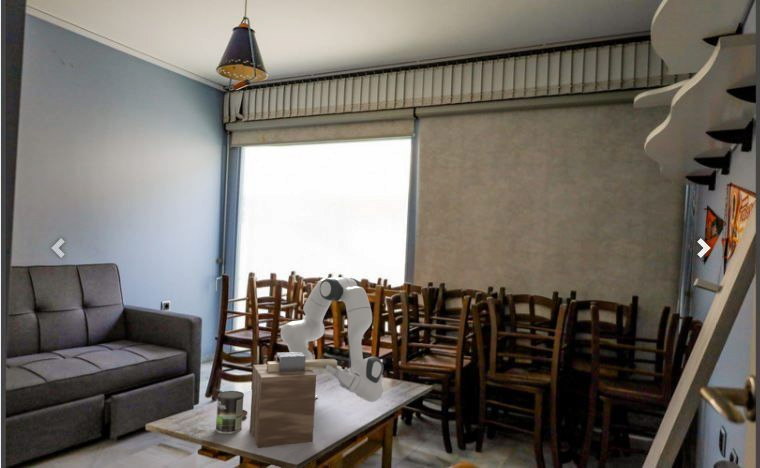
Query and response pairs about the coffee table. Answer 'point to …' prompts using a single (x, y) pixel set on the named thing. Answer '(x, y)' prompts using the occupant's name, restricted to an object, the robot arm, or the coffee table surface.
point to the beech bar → (308, 364)
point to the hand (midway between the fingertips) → (322, 363)
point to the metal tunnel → (291, 361)
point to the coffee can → (229, 412)
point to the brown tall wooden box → (282, 407)
